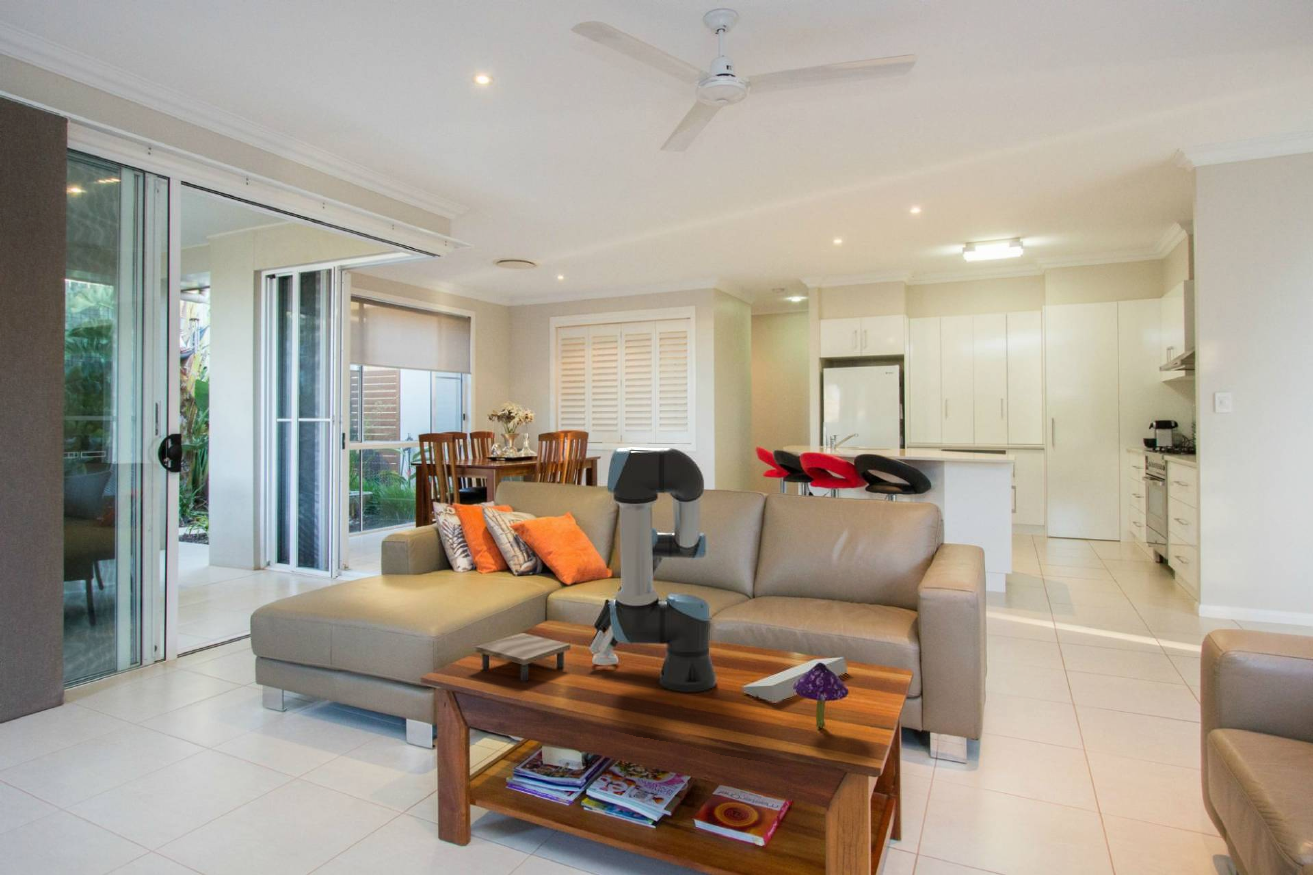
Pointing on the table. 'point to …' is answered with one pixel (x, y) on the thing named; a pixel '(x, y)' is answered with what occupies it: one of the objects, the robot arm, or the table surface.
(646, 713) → the table surface
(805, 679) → the decorative mushroom
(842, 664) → the decorative molding
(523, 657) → the small wooden table
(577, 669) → the table surface
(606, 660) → the white ring with handle
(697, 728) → the table surface
